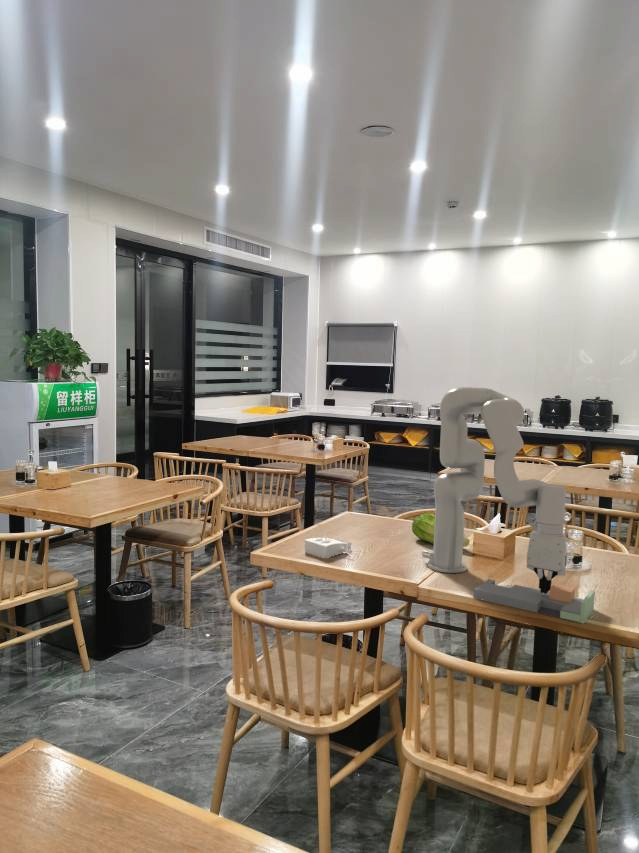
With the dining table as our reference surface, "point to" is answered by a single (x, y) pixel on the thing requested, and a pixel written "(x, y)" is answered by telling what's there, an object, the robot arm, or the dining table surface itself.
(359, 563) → the dining table surface
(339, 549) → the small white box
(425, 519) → the lettuce
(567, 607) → the grey stepped platform
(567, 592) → the block
